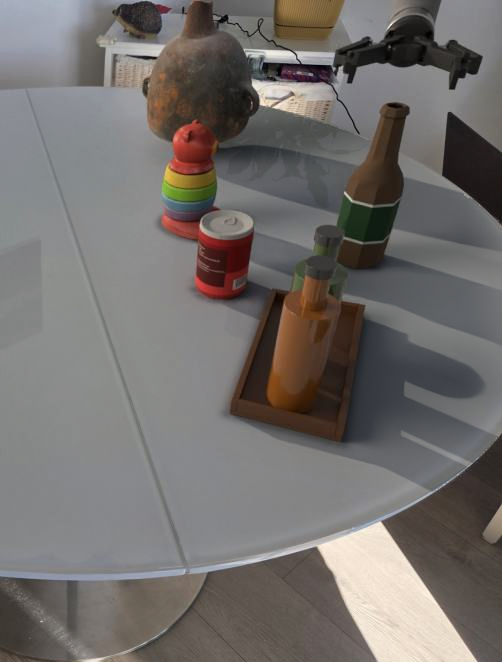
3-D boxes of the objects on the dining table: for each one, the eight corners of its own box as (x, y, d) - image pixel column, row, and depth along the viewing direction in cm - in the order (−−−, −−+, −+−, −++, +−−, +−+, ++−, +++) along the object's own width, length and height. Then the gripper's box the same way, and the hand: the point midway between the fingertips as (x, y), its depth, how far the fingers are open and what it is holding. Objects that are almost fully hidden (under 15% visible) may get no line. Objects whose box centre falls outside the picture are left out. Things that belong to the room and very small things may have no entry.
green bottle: (326, 354, 83) (361, 222, 71) (320, 382, 79) (356, 247, 67) (280, 344, 86) (306, 215, 74) (272, 371, 82) (298, 239, 70)
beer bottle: (355, 275, 98) (397, 119, 83) (319, 253, 104) (352, 103, 89) (394, 261, 100) (442, 107, 85) (356, 240, 106) (394, 92, 91)
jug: (250, 130, 146) (270, -18, 127) (252, 169, 130) (274, 6, 111) (143, 129, 151) (147, -13, 133) (132, 167, 135) (134, 11, 116)
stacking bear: (204, 242, 109) (214, 141, 98) (150, 231, 113) (153, 132, 102) (226, 215, 116) (237, 117, 105) (174, 205, 120) (179, 110, 109)
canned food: (245, 273, 101) (254, 210, 94) (246, 302, 95) (255, 237, 88) (195, 270, 102) (200, 208, 95) (193, 298, 96) (198, 234, 89)
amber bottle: (319, 388, 79) (354, 253, 67) (312, 419, 75) (348, 282, 63) (270, 377, 81) (296, 244, 69) (261, 406, 77) (287, 272, 65)
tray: (361, 316, 90) (365, 304, 89) (340, 442, 72) (344, 429, 71) (269, 299, 95) (271, 287, 93) (229, 413, 77) (230, 401, 76)
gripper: (486, 65, 105) (491, 109, 90) (325, 58, 114) (306, 97, 100) (503, 15, 100) (512, 53, 86) (333, 12, 110) (316, 45, 95)
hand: (401, 77), depth 93 cm, fingers open, 13 cm apart
